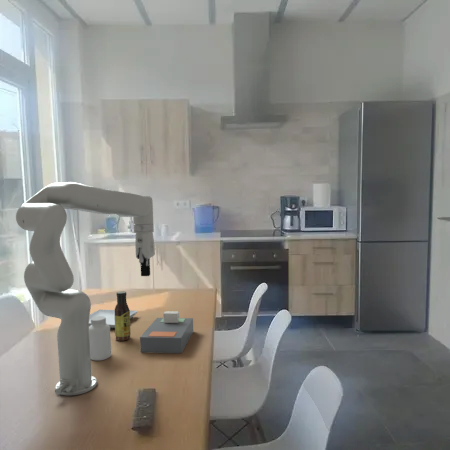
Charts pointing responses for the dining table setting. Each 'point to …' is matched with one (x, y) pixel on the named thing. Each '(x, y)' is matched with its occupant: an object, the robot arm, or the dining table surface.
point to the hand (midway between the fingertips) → (145, 275)
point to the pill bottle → (99, 339)
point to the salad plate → (108, 316)
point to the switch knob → (171, 316)
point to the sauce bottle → (122, 317)
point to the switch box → (166, 336)
